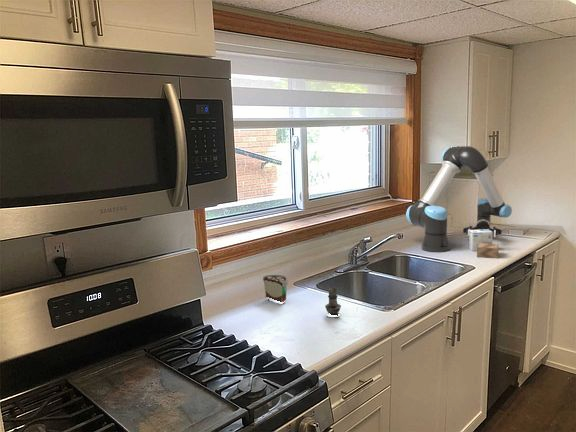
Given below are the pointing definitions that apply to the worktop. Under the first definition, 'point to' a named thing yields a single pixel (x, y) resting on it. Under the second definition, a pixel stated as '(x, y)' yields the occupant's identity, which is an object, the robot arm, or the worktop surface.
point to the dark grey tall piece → (333, 302)
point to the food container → (275, 287)
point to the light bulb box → (479, 238)
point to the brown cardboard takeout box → (487, 250)
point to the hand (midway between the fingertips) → (481, 234)
